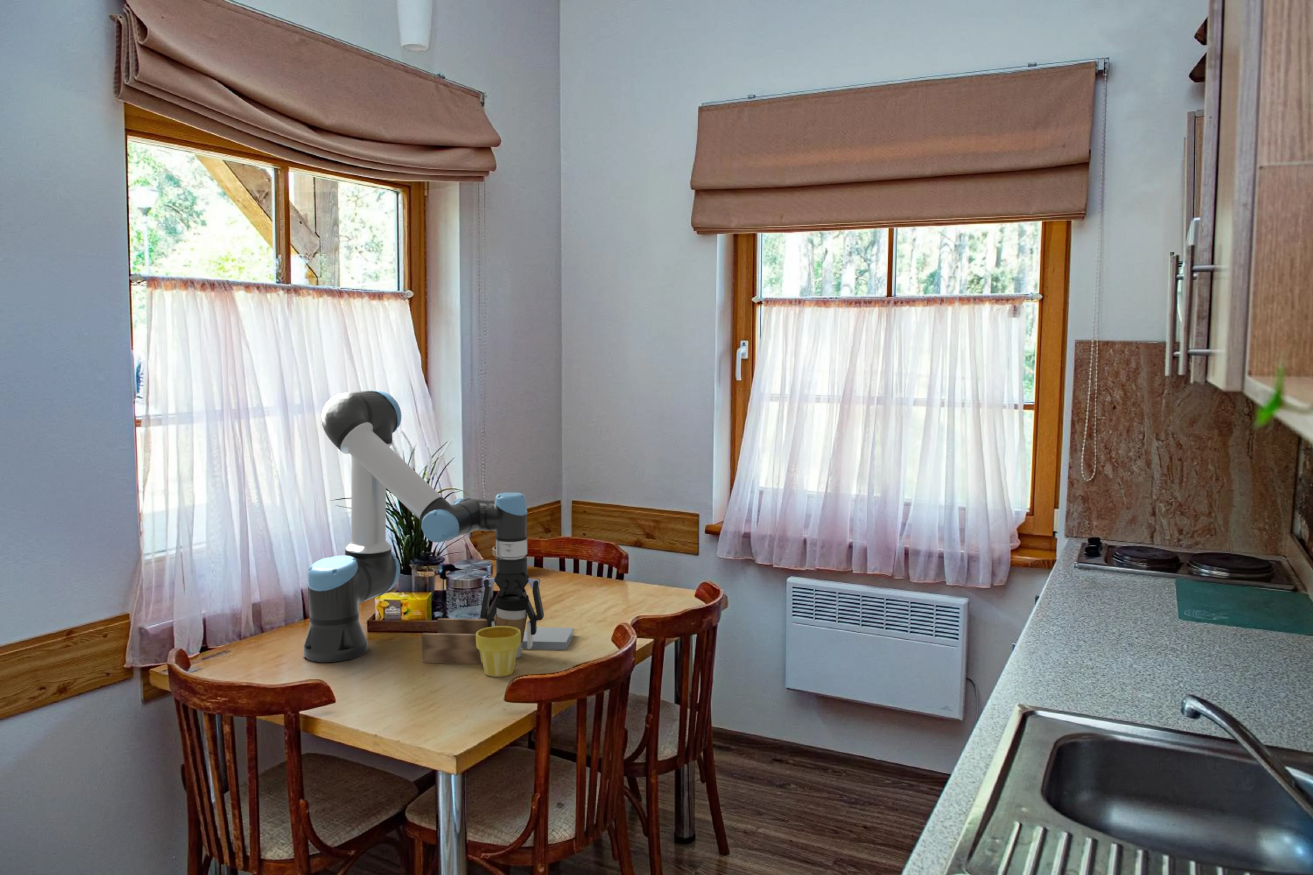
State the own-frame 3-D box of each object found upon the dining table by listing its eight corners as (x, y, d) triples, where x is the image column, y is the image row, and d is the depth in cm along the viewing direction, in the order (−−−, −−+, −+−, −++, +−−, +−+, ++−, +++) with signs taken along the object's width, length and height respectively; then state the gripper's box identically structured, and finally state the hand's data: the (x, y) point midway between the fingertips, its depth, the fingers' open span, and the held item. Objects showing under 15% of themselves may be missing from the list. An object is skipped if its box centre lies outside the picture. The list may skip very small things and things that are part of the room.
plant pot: (501, 661, 231) (500, 622, 230) (530, 670, 225) (529, 630, 224) (467, 673, 223) (466, 632, 222) (497, 683, 217) (496, 641, 216)
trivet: (518, 648, 241) (518, 641, 241) (528, 634, 253) (528, 626, 252) (565, 649, 240) (565, 642, 240) (573, 635, 252) (573, 627, 252)
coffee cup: (518, 662, 231) (523, 602, 229) (486, 657, 233) (490, 597, 231) (530, 651, 239) (535, 593, 237) (499, 646, 241) (503, 588, 239)
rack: (422, 662, 231) (421, 634, 230) (439, 644, 244) (438, 618, 243) (479, 663, 230) (478, 635, 229) (493, 646, 243) (492, 619, 242)
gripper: (465, 558, 230) (466, 650, 233) (551, 560, 229) (551, 652, 231) (473, 551, 238) (474, 640, 240) (556, 553, 236) (557, 643, 239)
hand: (512, 646), depth 236 cm, fingers open, 8 cm apart
